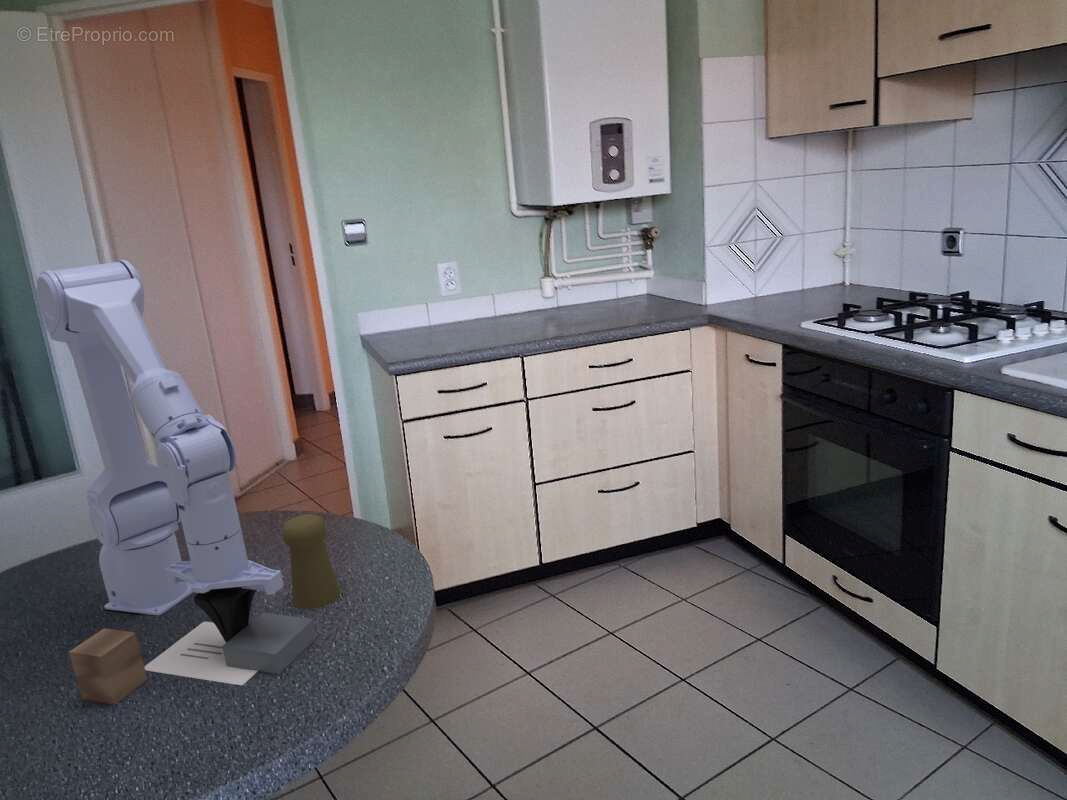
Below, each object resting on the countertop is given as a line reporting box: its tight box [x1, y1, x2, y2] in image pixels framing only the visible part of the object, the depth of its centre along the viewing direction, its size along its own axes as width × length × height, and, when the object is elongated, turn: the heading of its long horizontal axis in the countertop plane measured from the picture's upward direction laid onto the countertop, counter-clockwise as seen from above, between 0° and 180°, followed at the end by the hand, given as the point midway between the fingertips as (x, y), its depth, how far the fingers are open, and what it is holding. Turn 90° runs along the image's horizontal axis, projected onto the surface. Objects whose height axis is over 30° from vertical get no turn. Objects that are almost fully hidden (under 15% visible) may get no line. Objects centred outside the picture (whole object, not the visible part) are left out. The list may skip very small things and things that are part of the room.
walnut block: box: [68, 628, 148, 706], centre depth 85 cm, size 4×4×6 cm
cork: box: [282, 513, 341, 610], centre depth 100 cm, size 6×6×11 cm
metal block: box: [222, 612, 318, 675], centre depth 89 cm, size 7×7×2 cm
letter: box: [144, 621, 259, 686], centre depth 91 cm, size 14×10×1 cm
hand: (238, 642), depth 91 cm, fingers closed
